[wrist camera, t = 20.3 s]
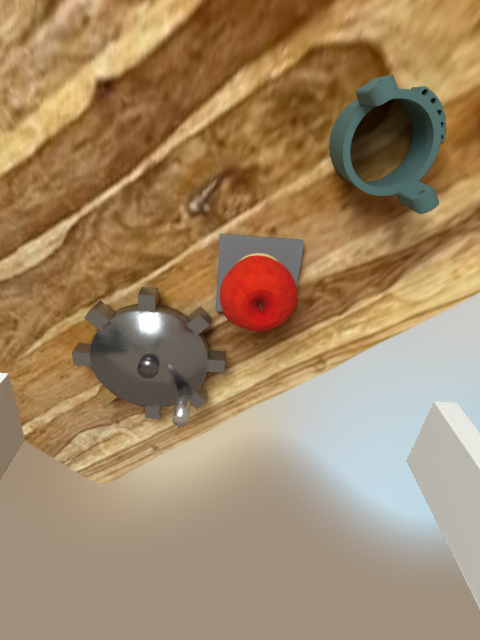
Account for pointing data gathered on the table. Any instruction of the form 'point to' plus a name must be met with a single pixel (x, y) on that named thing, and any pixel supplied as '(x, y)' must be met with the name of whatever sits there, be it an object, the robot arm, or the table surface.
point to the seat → (246, 246)
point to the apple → (258, 293)
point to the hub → (148, 367)
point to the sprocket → (150, 340)
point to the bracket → (421, 152)
